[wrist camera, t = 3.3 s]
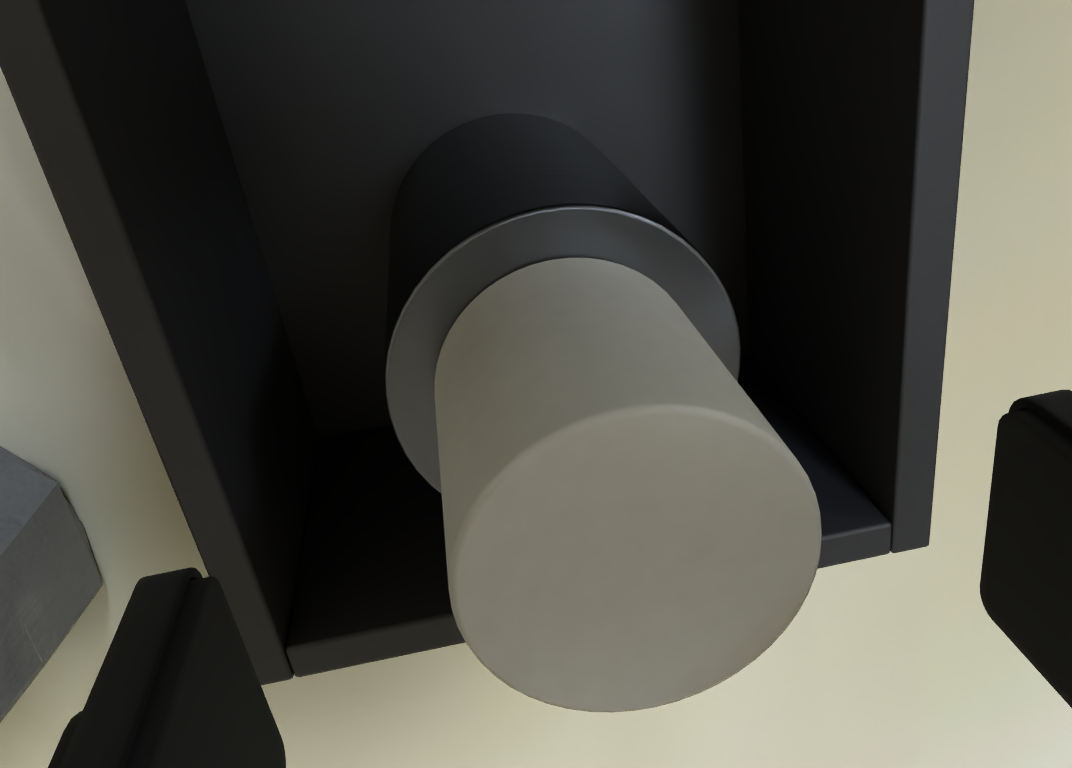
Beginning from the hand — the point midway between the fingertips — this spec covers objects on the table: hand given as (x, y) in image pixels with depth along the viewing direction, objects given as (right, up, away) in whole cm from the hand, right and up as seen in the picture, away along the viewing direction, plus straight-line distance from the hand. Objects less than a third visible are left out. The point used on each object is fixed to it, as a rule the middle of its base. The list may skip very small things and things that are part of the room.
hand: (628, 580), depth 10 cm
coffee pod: (-1, +2, +4) cm, 5 cm away
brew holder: (-2, +6, +12) cm, 14 cm away
